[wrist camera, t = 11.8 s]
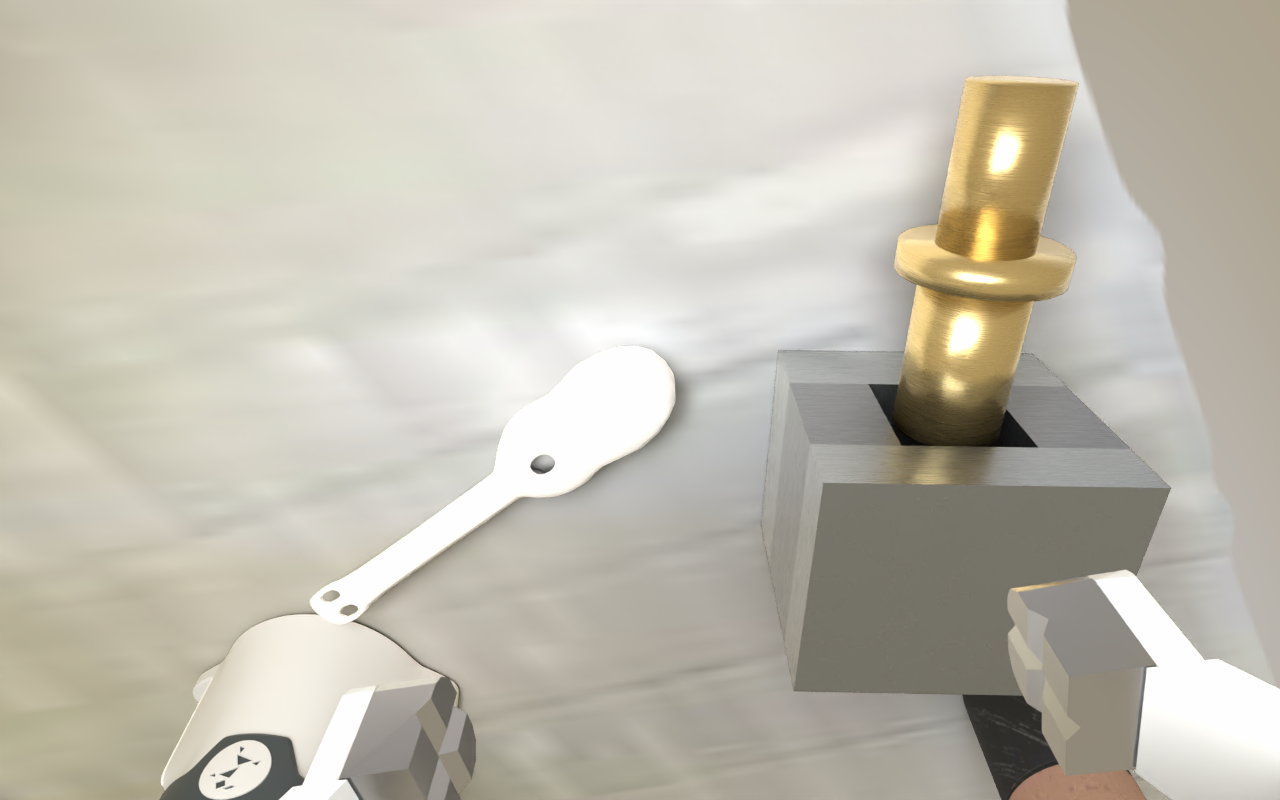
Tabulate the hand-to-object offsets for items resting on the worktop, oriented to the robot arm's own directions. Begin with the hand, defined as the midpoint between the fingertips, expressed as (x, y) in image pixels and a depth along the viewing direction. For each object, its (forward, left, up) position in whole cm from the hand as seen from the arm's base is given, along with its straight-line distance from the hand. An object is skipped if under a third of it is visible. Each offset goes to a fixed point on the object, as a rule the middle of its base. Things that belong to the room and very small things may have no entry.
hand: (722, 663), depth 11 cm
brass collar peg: (-2, -13, -28) cm, 31 cm away
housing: (-15, -13, -31) cm, 37 cm away
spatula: (-18, +11, -31) cm, 38 cm away
